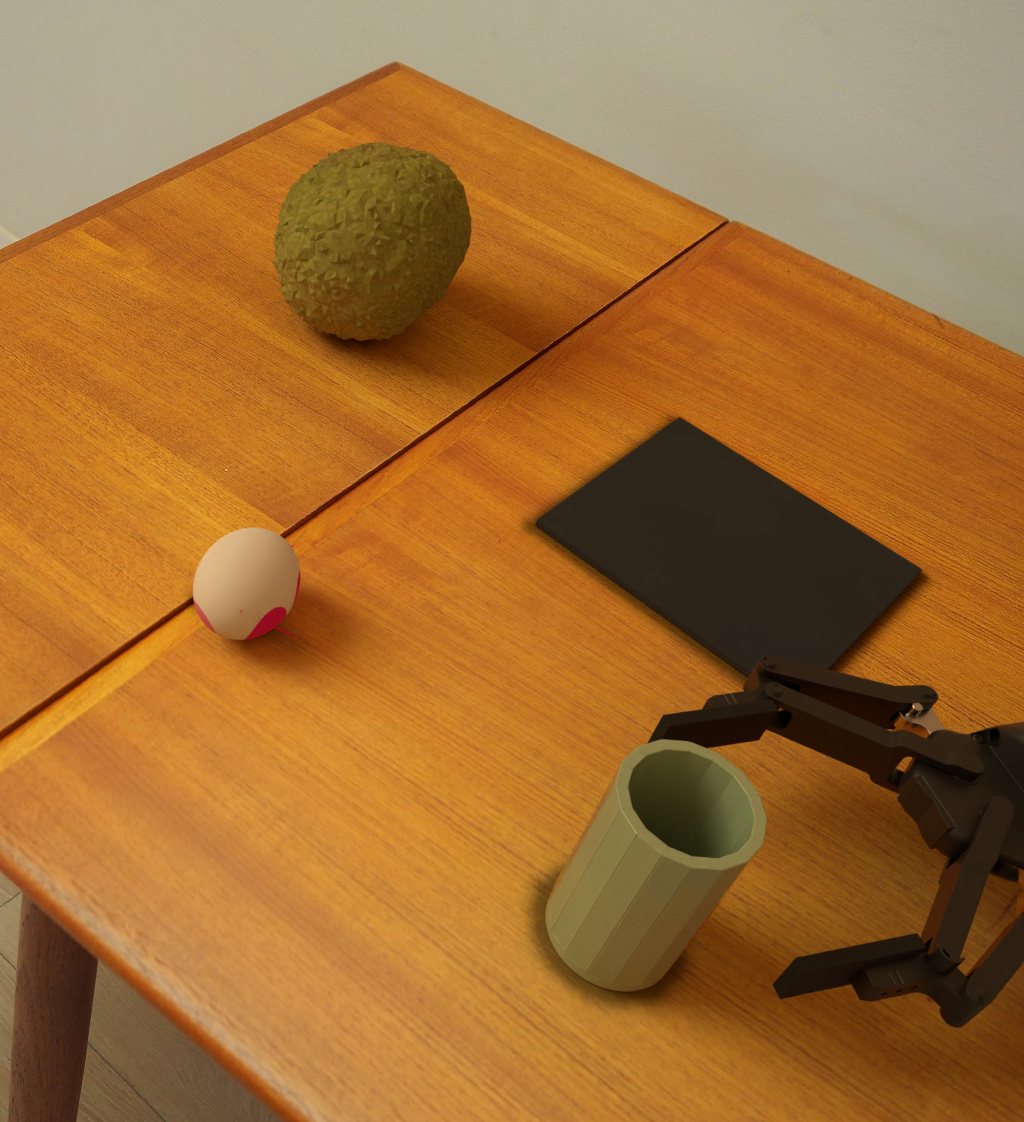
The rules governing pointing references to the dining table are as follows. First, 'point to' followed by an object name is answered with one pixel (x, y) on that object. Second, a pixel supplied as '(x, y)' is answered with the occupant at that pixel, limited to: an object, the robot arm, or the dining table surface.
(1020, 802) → the robot arm
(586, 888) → the cup
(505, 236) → the dining table surface
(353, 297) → the fruit
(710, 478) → the mat
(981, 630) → the dining table surface
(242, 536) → the stress ball
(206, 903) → the dining table surface
